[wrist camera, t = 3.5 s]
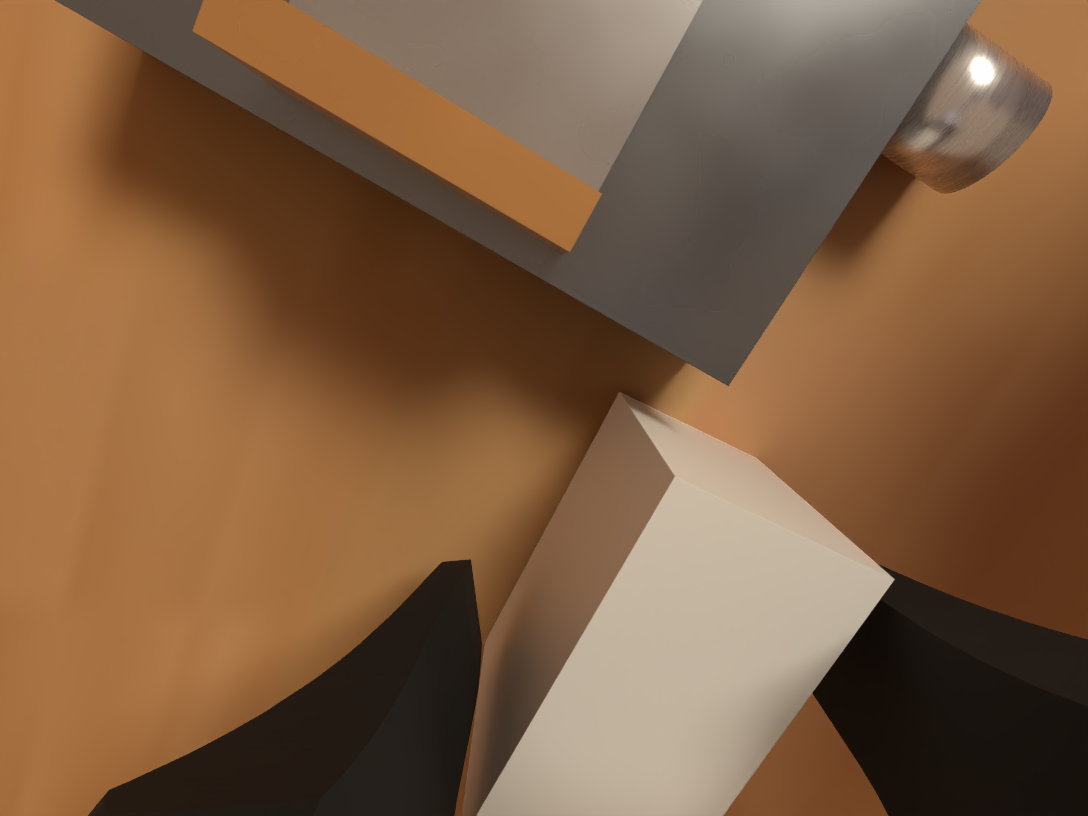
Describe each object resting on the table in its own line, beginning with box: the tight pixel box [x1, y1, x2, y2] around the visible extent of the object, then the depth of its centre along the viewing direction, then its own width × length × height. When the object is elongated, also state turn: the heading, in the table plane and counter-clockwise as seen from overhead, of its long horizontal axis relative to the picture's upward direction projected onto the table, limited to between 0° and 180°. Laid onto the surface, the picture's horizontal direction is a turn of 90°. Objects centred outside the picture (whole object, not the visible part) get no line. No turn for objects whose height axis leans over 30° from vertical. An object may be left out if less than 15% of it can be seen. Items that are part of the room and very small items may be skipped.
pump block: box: [462, 392, 895, 816], centre depth 11 cm, size 4×7×5 cm, turn 154°
